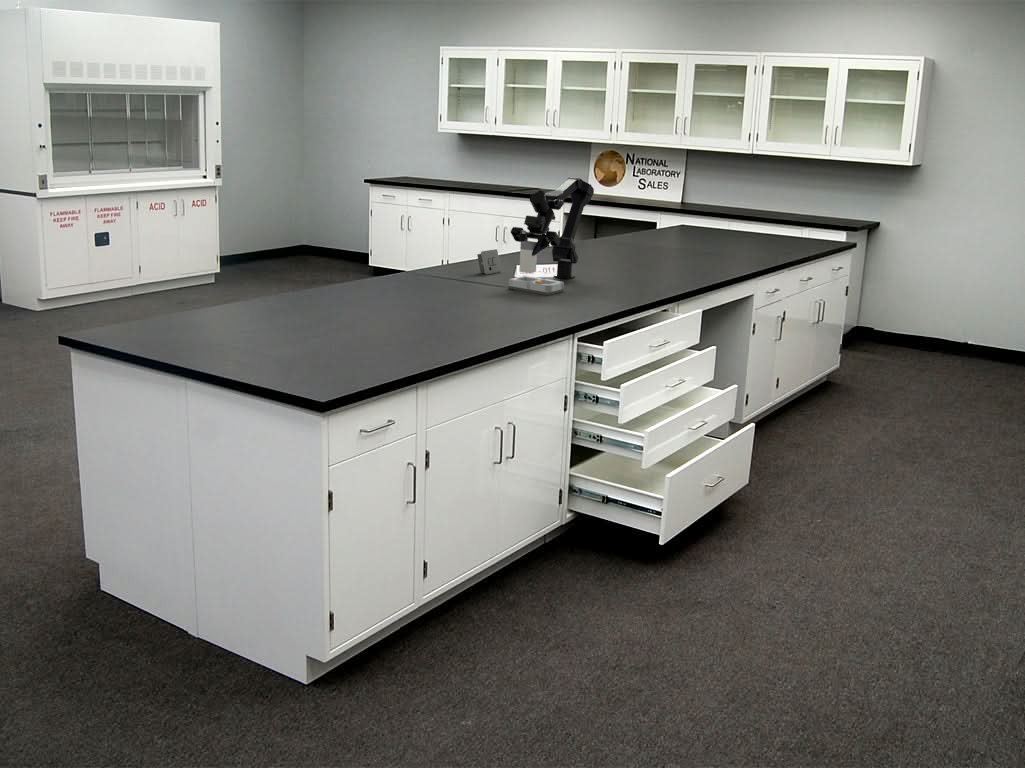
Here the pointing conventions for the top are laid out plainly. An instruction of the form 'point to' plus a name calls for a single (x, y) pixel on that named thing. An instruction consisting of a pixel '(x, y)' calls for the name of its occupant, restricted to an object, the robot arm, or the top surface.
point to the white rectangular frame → (536, 285)
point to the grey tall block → (527, 257)
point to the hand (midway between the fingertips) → (526, 254)
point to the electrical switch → (489, 262)
